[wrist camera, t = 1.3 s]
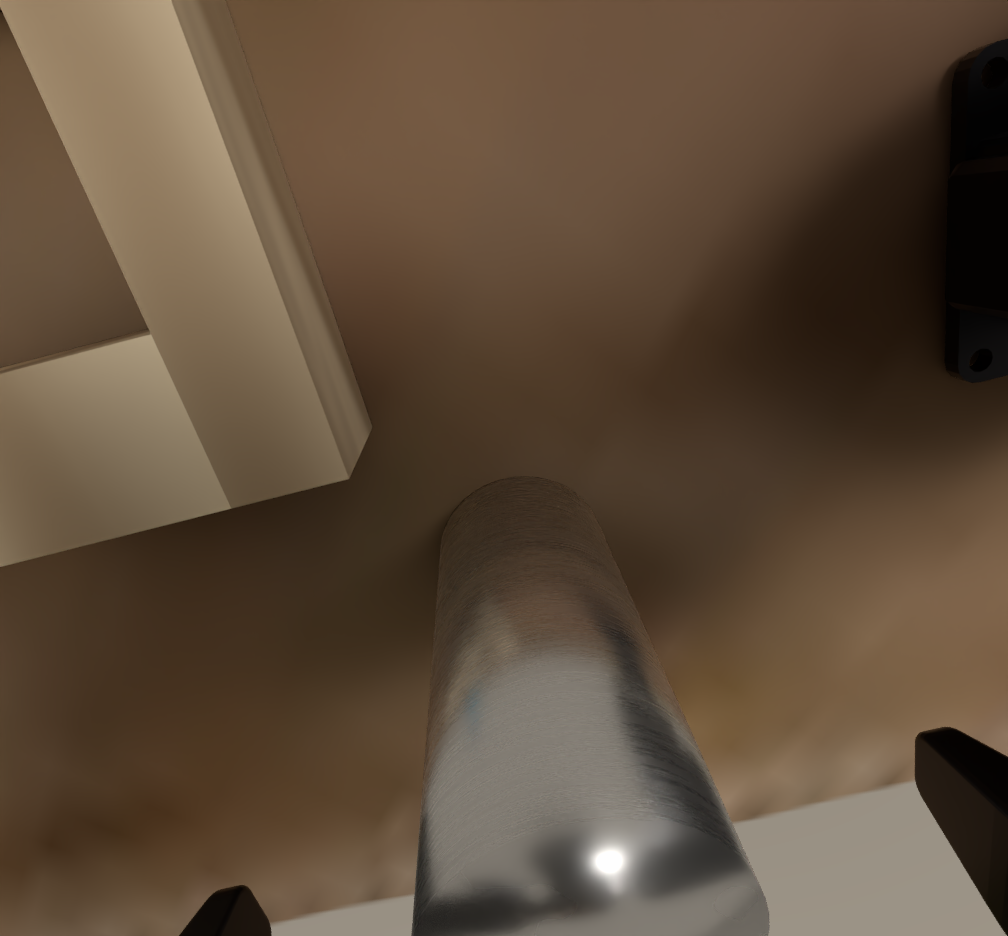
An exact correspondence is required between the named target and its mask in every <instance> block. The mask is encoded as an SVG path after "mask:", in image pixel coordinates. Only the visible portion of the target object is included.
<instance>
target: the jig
mask: <svg viewBox="0 0 1008 936" xmlns="http://www.w3.org/2000/svg"><path fill="white" fill-rule="evenodd" d="M1 10H2V12H3V14H4V16H5V18H6V21H7V23H8V25H9V27H10V29H11V31H12V34H13V36H14V38H15V40H16V42H17V44H18V47H19V49H20V51H21V53H22V55H23V57H24V60H25V62H26V64H27V66H28V68H29V70H30V73H31V75H32V77H33V79H34V81H35V83H36V86H37V88H38V90H39V92H40V94H41V96H42V99H43V101H44V103H45V105H46V107H47V110H48V112H49V114H50V116H51V118H52V120H53V123H54V125H55V127H56V129H57V131H58V133H59V136H60V138H61V140H62V142H63V144H64V146H65V149H66V151H67V153H68V155H69V157H70V159H71V162H72V164H73V166H74V168H75V170H76V172H77V175H78V177H79V179H80V181H81V183H82V185H83V188H84V190H85V192H86V194H87V196H88V199H89V201H90V203H91V205H92V207H93V209H94V212H95V214H96V216H97V218H98V220H99V222H100V225H101V227H102V229H103V231H104V233H105V235H106V238H107V240H108V242H109V244H110V246H111V248H112V251H113V253H114V255H115V257H116V259H117V261H118V264H119V266H120V268H121V270H122V272H123V274H124V277H125V279H126V281H127V283H128V285H129V288H130V290H131V292H132V294H133V296H134V298H135V301H136V303H137V305H138V307H139V309H140V311H141V314H142V316H143V318H144V320H145V322H146V324H147V327H148V329H146V330H142V331H138V332H134V333H131V334H127V335H123V336H119V337H115V338H112V339H108V340H104V341H100V342H97V343H93V344H89V345H85V346H81V347H78V348H74V349H70V350H66V351H62V352H59V353H55V354H51V355H47V356H44V357H40V358H36V359H32V360H28V361H25V362H21V363H17V364H13V365H10V366H6V367H2V368H0V567H2V566H6V565H10V564H14V563H18V562H22V561H26V560H30V559H34V558H38V557H42V556H46V555H50V554H54V553H58V552H62V551H66V550H69V549H73V548H77V547H81V546H85V545H89V544H93V543H97V542H101V541H105V540H109V539H113V538H117V537H121V536H125V535H129V534H133V533H137V532H141V531H145V530H149V529H153V528H157V527H161V526H165V525H168V524H172V523H176V522H180V521H184V520H188V519H192V518H196V517H200V516H204V515H208V514H212V513H216V512H220V511H224V510H228V509H232V508H236V507H240V506H244V505H248V504H252V503H256V502H260V501H264V500H267V499H271V498H275V497H279V496H283V495H287V494H291V493H295V492H299V491H303V490H307V489H311V488H315V487H319V486H323V485H327V484H331V483H335V482H339V481H343V480H347V479H349V478H350V476H351V474H352V471H353V469H354V467H355V465H356V463H357V460H358V458H359V456H360V454H361V452H362V449H363V447H364V445H365V443H366V441H367V438H368V436H369V434H370V432H371V430H372V424H371V421H370V418H369V416H368V413H367V410H366V407H365V404H364V401H363V398H362V395H361V392H360V389H359V387H358V384H357V381H356V378H355V375H354V372H353V369H352V366H351V363H350V360H349V357H348V355H347V352H346V349H345V346H344V343H343V340H342V337H341V334H340V331H339V328H338V326H337V323H336V320H335V317H334V314H333V311H332V308H331V305H330V302H329V299H328V297H327V294H326V291H325V288H324V285H323V282H322V279H321V276H320V273H319V270H318V267H317V265H316V262H315V259H314V256H313V253H312V250H311V247H310V244H309V241H308V238H307V236H306V233H305V230H304V227H303V224H302V221H301V218H300V215H299V212H298V209H297V206H296V204H295V201H294V198H293V195H292V192H291V189H290V186H289V183H288V180H287V177H286V175H285V172H284V169H283V166H282V163H281V160H280V157H279V154H278V151H277V148H276V145H275V143H274V140H273V137H272V134H271V131H270V128H269V125H268V122H267V119H266V116H265V114H264V111H263V108H262V105H261V102H260V99H259V96H258V93H257V90H256V87H255V84H254V82H253V79H252V76H251V73H250V70H249V67H248V64H247V61H246V58H245V55H244V53H243V50H242V47H241V44H240V41H239V38H238V35H237V32H236V29H235V26H234V24H233V21H232V18H231V15H230V12H229V9H228V6H227V3H226V0H0V11H1Z"/></svg>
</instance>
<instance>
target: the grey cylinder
mask: <svg viewBox="0 0 1008 936" xmlns="http://www.w3.org/2000/svg"><path fill="white" fill-rule="evenodd" d="M768 933H769V912H768V907H767V902H766V898H765V896H764V894H763V892H762V889H761V887H760V885H759V883H758V880H757V878H756V876H755V874H754V871H753V869H752V867H751V865H750V862H749V860H748V858H747V856H746V853H745V851H744V849H743V847H742V844H741V842H740V840H739V838H738V835H737V833H736V831H735V829H734V826H733V824H732V822H731V820H730V817H729V815H728V813H727V811H726V808H725V806H724V804H723V802H722V800H721V797H720V795H719V793H718V791H717V788H716V786H715V784H714V782H713V779H712V777H711V775H710V773H709V770H708V768H707V766H706V764H705V761H704V759H703V757H702V755H701V752H700V750H699V748H698V746H697V743H696V741H695V739H694V737H693V734H692V732H691V730H690V728H689V725H688V723H687V721H686V719H685V716H684V714H683V712H682V710H681V707H680V705H679V703H678V701H677V698H676V696H675V694H674V692H673V690H672V687H671V685H670V683H669V681H668V678H667V676H666V674H665V672H664V669H663V667H662V665H661V663H660V660H659V658H658V656H657V654H656V651H655V649H654V647H653V645H652V642H651V640H650V638H649V636H648V633H647V631H646V629H645V627H644V624H643V622H642V620H641V618H640V615H639V613H638V611H637V609H636V606H635V604H634V602H633V600H632V597H631V595H630V593H629V591H628V588H627V586H626V584H625V582H624V580H623V577H622V575H621V573H620V571H619V568H618V566H617V564H616V562H615V559H614V557H613V555H612V553H611V550H610V548H609V546H608V544H607V541H606V539H605V537H604V535H603V532H602V530H601V528H600V526H599V523H598V521H597V519H596V517H595V515H594V513H593V512H592V510H591V509H590V507H589V506H588V505H587V504H586V502H585V501H584V500H583V499H582V498H581V497H580V496H578V495H577V494H576V493H575V492H573V491H572V490H570V489H569V488H567V487H565V486H563V485H561V484H559V483H556V482H553V481H550V480H547V479H542V478H536V477H513V478H508V479H502V480H499V481H496V482H493V483H490V484H488V485H486V486H484V487H482V488H480V489H478V490H477V491H475V492H474V493H472V494H471V495H470V496H468V497H467V498H466V499H465V500H464V501H463V502H462V503H461V504H460V505H459V506H458V507H457V508H456V509H455V511H454V512H453V514H452V515H451V516H450V518H449V520H448V522H447V524H446V526H445V529H444V532H443V535H442V540H441V548H440V561H439V575H438V588H437V601H436V615H435V628H434V642H433V655H432V668H431V682H430V695H429V709H428V722H427V735H426V749H425V762H424V776H423V789H422V802H421V816H420V829H419V843H418V856H417V870H416V883H415V896H414V910H413V923H412V936H768Z"/></svg>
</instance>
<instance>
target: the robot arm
mask: <svg viewBox="0 0 1008 936" xmlns="http://www.w3.org/2000/svg"><path fill="white" fill-rule="evenodd" d="M986 64H988V65H989V66H990V67H991V71H992V76H991V80H990V83H989V84H988V85H987V87H985V86H984V85H983V83H982V78H981V75H982V72H983V68H984V67H985V65H986ZM945 299H946V335H945V366H946V370H947V372H948V373H949V374H950V375H951V376H953V377H956V378H958V379H961V380H964V381H968V382H971V383H974V382H982V381H986V380H990V379H994V378H998V377H1002V376H1006V375H1008V39H1005V40H1001V41H997V42H994V43H991V44H989V45H986V46H983V47H980V48H978V49H976V50H974V51H972V52H970V53H969V54H968V55H967V56H966V57H965V58H964V59H963V60H962V61H961V62H960V64H959V65H958V67H957V69H956V71H955V73H954V79H953V84H952V114H951V151H950V177H949V180H948V206H947V244H946V282H945ZM976 351H978V353H979V354H978V357H977V360H976V361H975V362H974V364H973V365H971V366H970V365H969V362H970V358H971V356H972V355H973V354H974V353H975V352H976ZM915 781H916V785H917V788H918V790H919V792H920V795H921V797H922V798H923V800H924V802H925V803H926V805H927V807H928V808H929V810H930V812H931V813H932V815H933V817H934V818H935V820H936V822H937V823H938V825H939V826H940V828H941V830H942V831H943V833H944V835H945V836H946V838H947V840H948V841H949V843H950V845H951V846H952V848H953V850H954V851H955V853H956V854H957V856H958V858H959V859H960V861H961V863H962V864H963V866H964V868H965V869H966V871H967V873H968V874H969V876H970V878H971V879H972V881H973V883H974V884H975V886H976V888H977V889H978V891H979V892H980V894H981V896H982V898H983V899H984V901H985V902H986V904H987V906H988V907H989V909H990V910H991V912H992V914H993V915H994V917H995V918H996V920H997V921H998V923H999V925H1000V926H1001V928H1002V929H1003V931H1004V932H1005V934H1006V935H1007V936H1008V757H1007V756H1006V755H1004V754H1002V753H1000V752H998V751H996V750H994V749H993V748H991V747H989V746H987V745H985V744H983V743H981V742H980V741H978V740H976V739H974V738H972V737H970V736H969V735H967V734H965V733H963V732H961V731H959V730H957V729H954V728H951V727H941V728H937V729H932V730H928V731H923V732H920V733H919V734H918V735H917V737H916V739H915ZM179 936H271V927H270V923H269V920H268V918H267V916H266V915H265V913H264V911H263V910H262V908H261V907H260V905H259V903H258V902H257V900H256V898H255V897H254V895H253V893H252V892H251V890H250V889H249V888H248V887H247V886H244V885H239V886H234V887H230V888H225V889H221V890H218V891H216V892H215V893H213V894H212V895H211V896H210V897H209V898H208V899H207V900H206V902H205V903H204V904H203V906H202V907H201V908H200V909H199V911H198V912H197V913H196V915H195V916H194V917H193V918H192V920H191V921H190V922H189V924H188V925H187V926H186V927H185V929H184V930H183V931H182V932H181V934H180V935H179Z"/></svg>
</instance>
